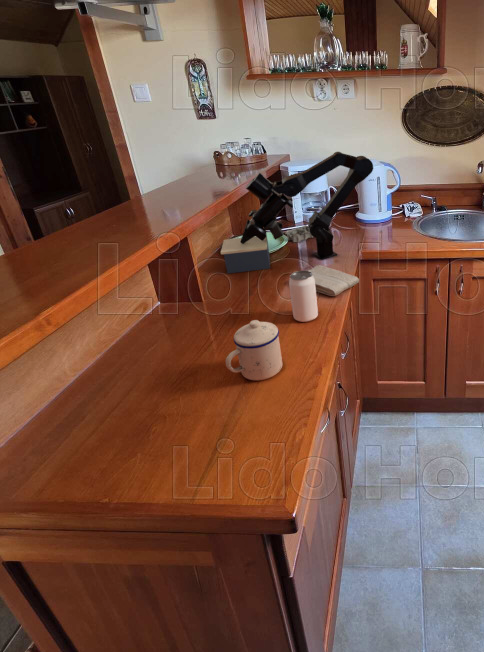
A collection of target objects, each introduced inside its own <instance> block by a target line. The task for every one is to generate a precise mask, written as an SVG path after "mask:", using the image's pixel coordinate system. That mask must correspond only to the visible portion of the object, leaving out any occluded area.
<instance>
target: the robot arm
mask: <svg viewBox="0 0 484 652" xmlns="http://www.w3.org/2000/svg"><path fill="white" fill-rule="evenodd" d="M340 166H341V167H345V168H347V169H349V170H348V172H347V175H346V177H345V179H344V180H343V181H342V182H341V184H340V185H339V187H338V188H337V189H336V191H335V192H334V193H333V194H332V195H331V198H330V199H329V200H328V202H327V203H326V204H325V205H324V206H323V208H322V209H321V210H319V211H318V210H316V209H315V210H314V211H313V213H312V215H311V216H310V217H309V218H308V222H307V226H308V227H309V231H310V233H311V235H312V236H313V238H315V245H316V251H315V252H313V255H314V256H315V257H317V258H318V259H319V260H325V259H329V258H332V257H336V256H338V253H336V252H335V251H334V245H333V241H334V234H333V232H332V230H331V228H330V227H331V223H332V221H333V218H334V217H335V215H336V213H337V212H339V210H340V208H341V207H342V206H343V204H345V202H346V201H347V199H348V197H349V196H350V195H351V193H353V191H354V189H355V188H356V187H357V186H358V185H359V184H360V183H361V182H363V181H365V180H366V179H367V178H368V177H369V176H370V175H371V174H372V173H373V172H374V163H373V162H372V161H371V159H369V158H368V157H367V156H366V155H365V156H364V155H358V156H354V155H351V154H347V153H343V152H341V151H335V152H334V153H332V154H331V155H330V156H328V157H326V158H324V159H322V160H321V161H319V162H317V163H316V164H314V165H312V166H310V167H309V168H307V169H305V170H303V171H300V172H296V173H292V174H289V175H287V176H285V177H284V178H283V179H281V180H278V181H273V182H271V181H270V180H269V179H267V178H266V177H265V176H264V174H262V173H261V172H259V173H258V174H257V175H255V176H254V177H253V178H251V180H250V181H249V182H248V184H247V185H246V186H245V190H247V191H248V192H249V193H251V194H252V195H254V196H255V197H256V198H257V199H259V201H260V200H264V202H263V203H261V204H260V207H259V208H258V209H252V210H251V211H250V212H249V213H248V217H249V218H251V219H247V220H246V223H245V225H244V229H243V232H242V235H241V237H240V238H241V241H240V242H241V243H242V244H244V243H245V242H247V241H248V240H250V239H251V238H253V237H255V236H256V237H257V238H259V239H260V240H262V241H263V240H264V239H265V238H266V237H267V238H268V235H267V231H269V232H270V234H271V235H272V237H273V239H274V240H278V239H279V238H281V237H283V236H284V231H283V227H284V224H283V223H282V221H277V219H278V218H277V216H279V214H280V213H281V212H282V210H283V209H284V208H285V207H286V206H288V207H290V208H291V209H293V207H294V205H293V200H294V199H293V198H294V197H296V196H297V195H299V194H300V193H301V192H302V191H304V190H305V188H307V186H308V185H309V184H311V183H312V182H314V181H316V180H318V179H319V178H321V177H323V176H325V175H326V174H328V173H330V172H331V171H333V170H334V169H337V168H338V167H340Z"/></svg>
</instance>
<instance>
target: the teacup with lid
mask: <svg viewBox="0 0 484 652" xmlns="http://www.w3.org/2000/svg"><path fill="white" fill-rule="evenodd" d="M279 336H280V330H279V328H278V326H277V325H275V324H274V323H272V322H268V321H259V320H258V319H254V320H253V319H252V320H251V321H250V322H249V323H248V324H245V325H243V326H241V327H240V328H238V329H237V330H236V332H235V333H234V335H233V343H234V344H235V347H236V349H235V350H233V351H231V352H230V353H229V354H228V355H227V357H226V358H225V366H226V368H227V370H228V371H230V372H232V373H234V374H235V373H236V374H237V373H241V375H242V376H243V377H244V378H245V379H247V380H250V381H264V380H268V379H270V378H272V377H274V376H275V375H277V374H279V373H280V371H281V370H282V368H283V358H282V351H281V345H280V338H279ZM236 356H237V357H238V361H239V366H237V367H233V366H232V361H233V359H234V358H235V357H236Z"/></svg>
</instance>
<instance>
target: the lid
mask: <svg viewBox="0 0 484 652" xmlns="http://www.w3.org/2000/svg"><path fill="white" fill-rule="evenodd" d="M241 238H242V237H238V238H228V239H223V242H222V246H221V249H220V255H224V254H231V253H240V252H249V251H258V250H267V241H268V236H267V237H266V238H265V239H264V240H263V241H262V240H260V239H259V238H257V237H256V236H254V237H253V238H251V239H250V240H248V241H247V242H245V243H244V244H242V243H241V242H240V241H241Z"/></svg>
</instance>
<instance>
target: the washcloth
mask: <svg viewBox="0 0 484 652" xmlns="http://www.w3.org/2000/svg"><path fill="white" fill-rule="evenodd" d="M307 271H310V272H311V273H312V276H313V277H314V279H315V287H316V292H318V293H321V294H322V295H323V294H324V295H327V296H330V297H336V296H338V295H340V294H342V293H343V292H345V291H346V290H349V289H351V288H352V287H354V286H356V285H357V284H359V282H360V279H359V277H358V276H356V275H353V274H350V273H347V272H344V271H341V270H338V269H335V268H331V267H328V266H325V265H322V264H320V265H315V266H313V268H311V269H309V270H307Z"/></svg>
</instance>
